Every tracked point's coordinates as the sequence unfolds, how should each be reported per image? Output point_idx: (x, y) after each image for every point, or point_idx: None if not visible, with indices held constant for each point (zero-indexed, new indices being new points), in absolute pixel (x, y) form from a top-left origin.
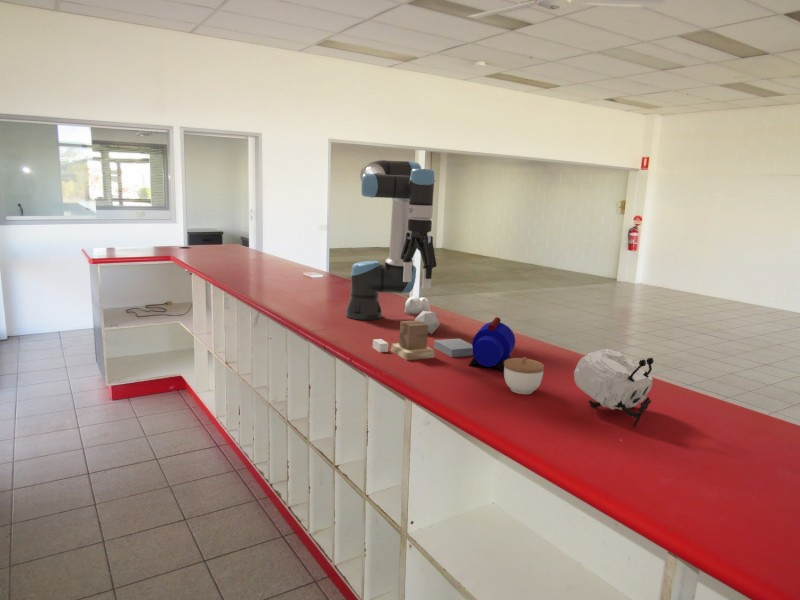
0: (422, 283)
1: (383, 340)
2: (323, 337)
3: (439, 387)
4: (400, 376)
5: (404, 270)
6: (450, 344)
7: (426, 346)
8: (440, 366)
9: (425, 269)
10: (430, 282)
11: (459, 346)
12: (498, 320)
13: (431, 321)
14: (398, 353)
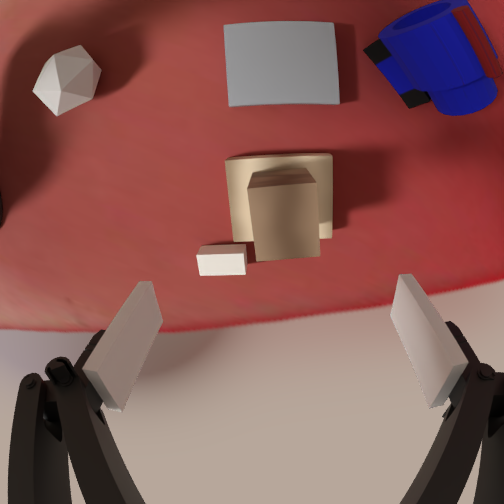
0: (402, 335)
1: (213, 255)
2: None
3: (478, 244)
4: None
5: (138, 369)
6: (285, 79)
7: (306, 169)
8: (395, 176)
9: (444, 392)
10: (426, 299)
11: (313, 65)
12: (477, 21)
13: (86, 72)
14: None
